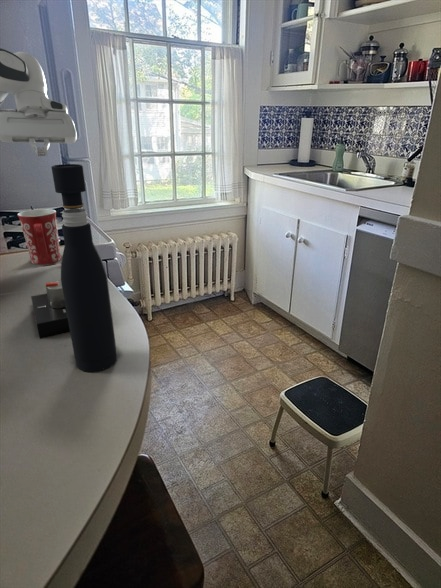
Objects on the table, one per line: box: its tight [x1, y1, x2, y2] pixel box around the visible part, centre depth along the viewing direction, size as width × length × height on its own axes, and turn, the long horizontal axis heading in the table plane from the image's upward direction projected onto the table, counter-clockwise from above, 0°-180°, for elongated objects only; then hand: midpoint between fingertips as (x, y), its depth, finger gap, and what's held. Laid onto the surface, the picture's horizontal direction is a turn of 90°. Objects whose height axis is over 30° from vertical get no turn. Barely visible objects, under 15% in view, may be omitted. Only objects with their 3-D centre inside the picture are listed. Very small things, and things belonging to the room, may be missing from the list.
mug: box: [17, 208, 62, 267], centre depth 101 cm, size 13×9×14 cm
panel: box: [30, 293, 70, 340], centre depth 76 cm, size 13×10×3 cm
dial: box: [45, 279, 66, 309], centre depth 74 cm, size 4×4×4 cm
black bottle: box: [51, 163, 118, 373], centre depth 57 cm, size 6×6×30 cm
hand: (41, 155), depth 108 cm, fingers closed
